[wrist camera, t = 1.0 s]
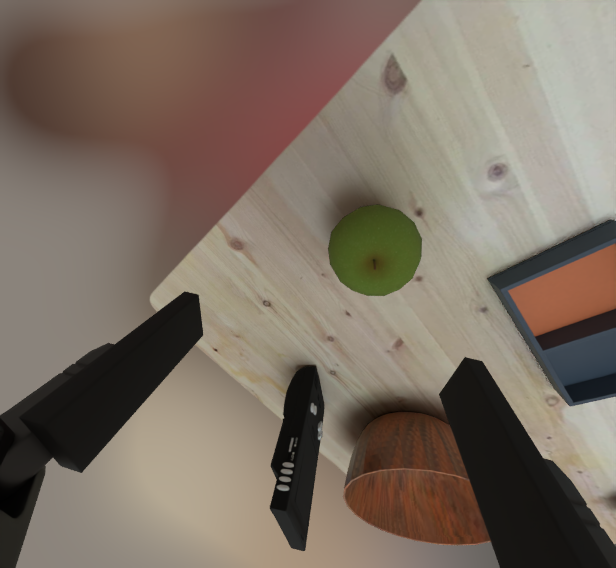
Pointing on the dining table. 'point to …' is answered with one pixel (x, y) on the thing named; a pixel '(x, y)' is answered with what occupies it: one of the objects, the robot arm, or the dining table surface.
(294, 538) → the black electronic device
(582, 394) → the tray
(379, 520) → the bowl
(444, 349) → the dining table surface
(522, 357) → the dining table surface
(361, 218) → the apple
